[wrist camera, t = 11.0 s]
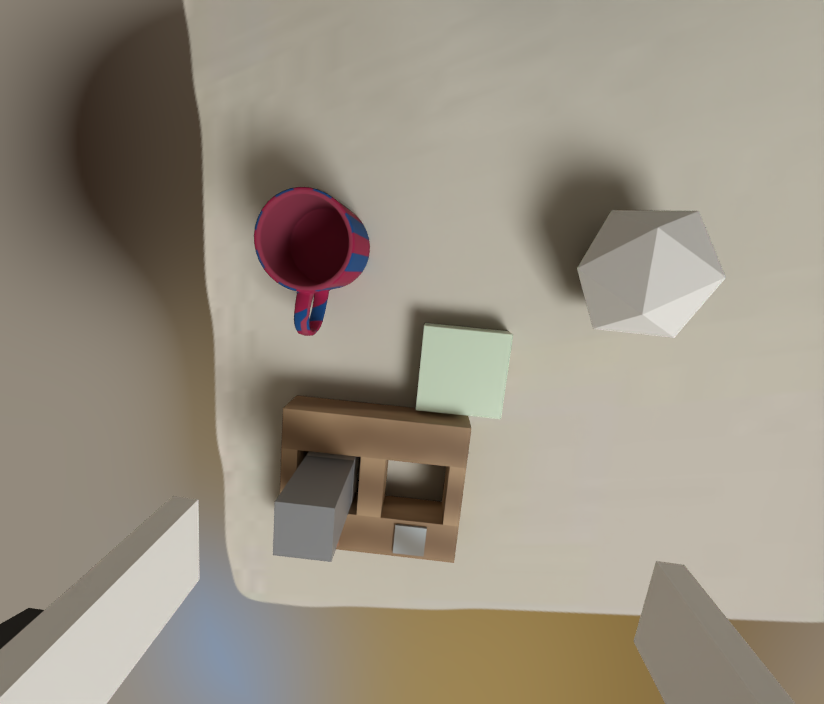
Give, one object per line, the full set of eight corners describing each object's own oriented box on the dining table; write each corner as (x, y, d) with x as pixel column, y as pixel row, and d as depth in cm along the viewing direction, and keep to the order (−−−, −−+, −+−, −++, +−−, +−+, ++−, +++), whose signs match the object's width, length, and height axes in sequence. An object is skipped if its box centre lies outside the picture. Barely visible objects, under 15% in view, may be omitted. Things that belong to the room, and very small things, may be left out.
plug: (316, 440, 37) (274, 501, 27) (360, 445, 37) (334, 508, 27) (314, 481, 38) (272, 555, 28) (357, 486, 38) (331, 561, 28)
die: (576, 344, 35) (712, 372, 27) (527, 277, 30) (677, 286, 22) (621, 265, 36) (763, 269, 28) (582, 188, 31) (741, 167, 23)
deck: (424, 322, 34) (424, 325, 33) (508, 331, 34) (513, 334, 32) (416, 402, 36) (415, 410, 34) (497, 411, 36) (500, 419, 34)
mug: (378, 215, 33) (364, 201, 26) (351, 335, 35) (332, 349, 28) (297, 195, 33) (263, 175, 26) (275, 315, 35) (238, 326, 28)
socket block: (296, 395, 36) (281, 409, 33) (467, 413, 36) (471, 429, 32) (291, 518, 39) (277, 543, 35) (451, 536, 38) (454, 564, 34)
